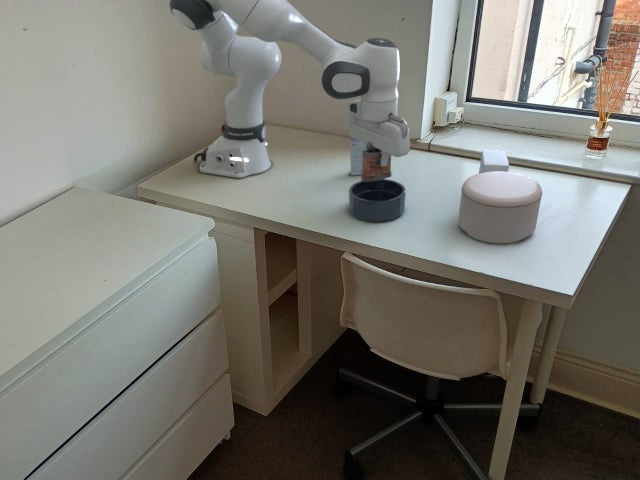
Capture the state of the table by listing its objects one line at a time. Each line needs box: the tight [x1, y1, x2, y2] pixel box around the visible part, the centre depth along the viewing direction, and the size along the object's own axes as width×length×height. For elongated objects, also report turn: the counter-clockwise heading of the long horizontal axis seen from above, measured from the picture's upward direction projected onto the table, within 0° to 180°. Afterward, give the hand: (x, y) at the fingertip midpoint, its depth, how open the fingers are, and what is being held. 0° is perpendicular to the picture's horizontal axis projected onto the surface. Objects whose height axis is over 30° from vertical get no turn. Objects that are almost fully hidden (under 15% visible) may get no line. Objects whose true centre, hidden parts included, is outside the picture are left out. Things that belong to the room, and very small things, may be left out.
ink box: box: [349, 137, 366, 176], centre depth 195 cm, size 12×2×12 cm, turn 84°
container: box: [458, 171, 543, 244], centre depth 161 cm, size 18×18×12 cm
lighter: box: [360, 143, 392, 182], centre depth 170 cm, size 8×3×10 cm, turn 107°
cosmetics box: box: [478, 149, 510, 174], centre depth 178 cm, size 10×6×10 cm, turn 166°
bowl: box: [348, 178, 407, 222], centre depth 176 cm, size 14×14×6 cm
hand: (377, 162), depth 170 cm, fingers closed on lighter, 3 cm apart
